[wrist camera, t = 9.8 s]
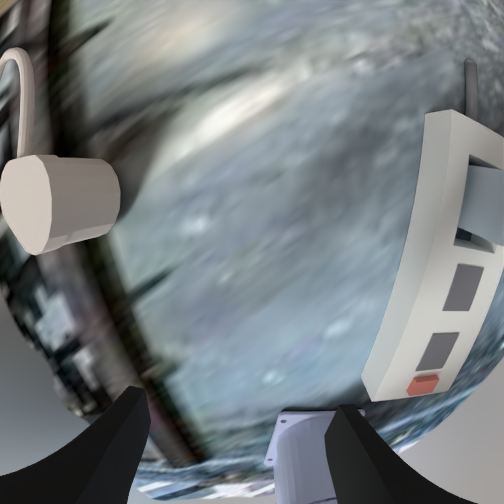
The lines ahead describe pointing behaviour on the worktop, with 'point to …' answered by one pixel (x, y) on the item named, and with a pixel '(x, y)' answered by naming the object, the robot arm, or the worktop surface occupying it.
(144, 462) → the worktop surface
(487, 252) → the power strip
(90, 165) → the toilet paper hanger
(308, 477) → the robot arm
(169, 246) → the worktop surface
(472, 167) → the block
